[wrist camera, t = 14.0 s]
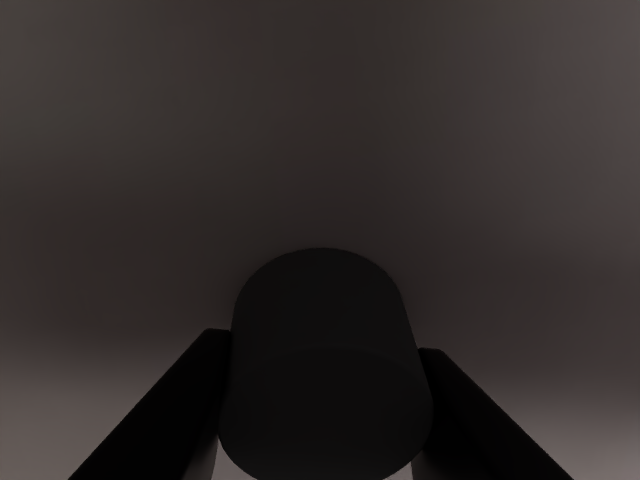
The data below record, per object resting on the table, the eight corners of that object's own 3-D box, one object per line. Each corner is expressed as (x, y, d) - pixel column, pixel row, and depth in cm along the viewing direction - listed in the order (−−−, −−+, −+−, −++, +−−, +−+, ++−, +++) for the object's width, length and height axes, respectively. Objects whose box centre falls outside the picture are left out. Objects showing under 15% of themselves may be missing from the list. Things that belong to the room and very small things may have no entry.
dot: (228, 373, 10) (209, 490, 8) (240, 235, 8) (222, 334, 6) (382, 386, 10) (405, 499, 8) (422, 257, 9) (464, 356, 7)
